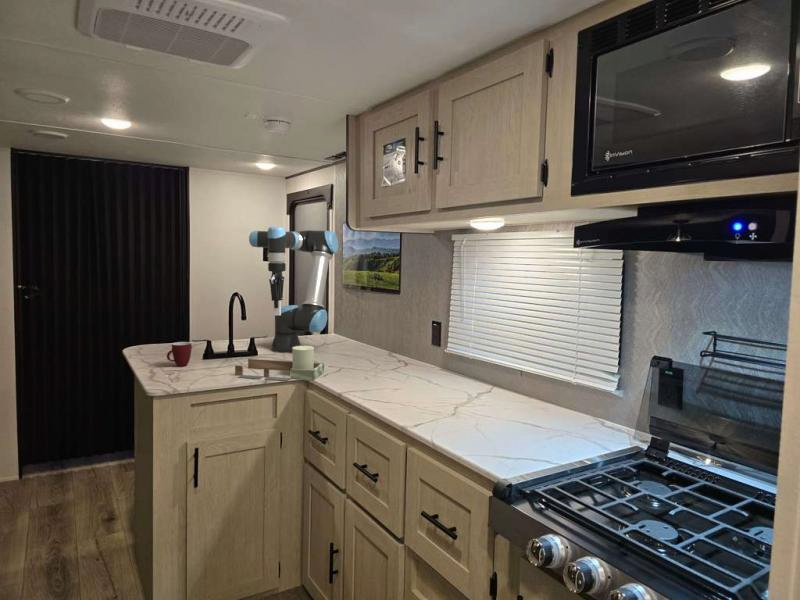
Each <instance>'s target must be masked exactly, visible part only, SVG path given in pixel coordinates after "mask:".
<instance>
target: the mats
mask: <svg viewBox="0 0 800 600" xmlns="http://www.w3.org/2000/svg"><path fill="white" fill-rule="evenodd" d="M237 378H238V379H248V380H249V379H250V380H251V379H252V380H261V379H263V378H264V381H279V382H288V381H290V380H291V377H280V376H279V377H278V376H269V377H264V375H263V376H262V375H250V374H249V375H248V374H243V375H241V376H240V375H238V377H237Z"/></svg>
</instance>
